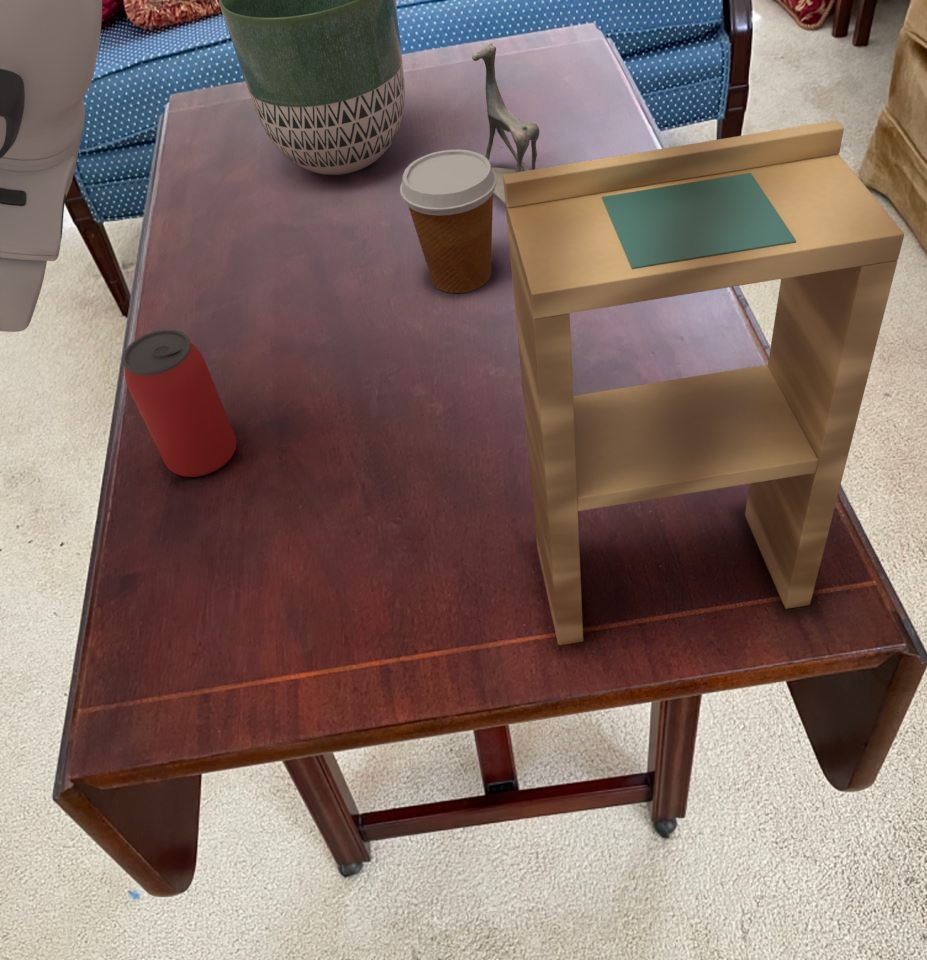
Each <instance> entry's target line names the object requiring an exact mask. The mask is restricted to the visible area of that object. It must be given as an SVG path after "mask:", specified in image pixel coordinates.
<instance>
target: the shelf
mask: <svg viewBox="0 0 927 960" xmlns="http://www.w3.org/2000/svg"><path fill="white" fill-rule="evenodd" d="M844 130H845V128H844V126H843V125H842V124H841V123H840V122H839V120H829V121H824V122H817V123H812V124H805V125H799V126H793V127H787V128H780V129H774V130H768V131H762V132H756V133H750V134H743V135H738V136H732V137H726V138H719V139H714V140H713V139H712V140H707V141H701V142H695V143H689V144H682V145H677V146H670V147H664V148H658V149H652V150H646V151H639V152H633V153H628V154H622V155H615V156H609V157H602V158H597V159H590V160H584V161H579V162H573V163H565V164H560V165H555V166H548V167H541V168H535V170H531V169H529V171H523V170H522V171H523V172H517V173H511V174H504V175H503V183H504V194H505V205H506V206H505V205H504V206H505V214H506V224H507V225H506V226H507V227H506V228H507V236H508V237H507V238H508V246H509V247H508V249H509V258H510V259H509V260H510V269H511V279H512V281H511V282H512V291H513V300H514V301H513V302H514V312H515V323H516V333H517V334H516V335H517V345H518V355H519V357H518V358H519V366H520V367H519V368H520V376H521V388H522V398H523V409H524V421H525V431H526V441H527V452H528V462H529V474H530V486H531V496H532V506H533V507H532V508H533V517H534V527H535V540H536V549H537V554H538V559H539V563H540V568H541V573H542V578H543V582H544V586H545V591H546V595H547V596H546V597H547V600H548V604H549V610H550V614H551V618H552V624H553V628H554V632H555V636H556V642H557V645H558V646H564V645H571V644H577V643H583V642H584V625H583V602H582V601H583V600H582V579H581V578H582V577H581V576H582V575H581V574H582V573H581V554H580V553H581V552H580V530H579V529H580V527H579V512H582V511H588V510H593V509H594V510H595V509H599V508H606V507H614V506H619V505H625V504H631V503H632V504H633V503H637V502H644V501H650V500H656V499H664V498H668V497H669V498H670V497H675V496H681V495H688V494H693V493H699V492H707V491H712V490H718V489H724V488H731V487H737V486H742V485H749V487H748V493H747V500H746V505H745V512H744V517H745V519H746V521H747V524H748V526H749V528H750V530H751V533H752V535H753V538H754V540H755V542H756V545H757V547H758V549H759V551H760V554H761V556H762V558H763V561H764V563H765V565H766V568H767V570H768V573H769V575H770V577H771V579H772V582H773V584H774V586H775V588H776V590H777V593H778V595H779V598H780V601H781V602H782V604H783V607H784V609H785V610H788V609H794V608H800V607H805V606H806V607H807V606H810V605H811V603H812V598H813V594H814V591H815V587H816V582H817V578H818V575H819V570H820V568H821V564H822V559H823V555H824V552H825V547H826V544H827V541H828V536H829V533H830V528H831V524H832V520H833V516H834V513H835V508H836V505H837V500H838V497H839V492H840V488H841V484H842V480H843V477H844V473H845V469H846V465H847V461H848V458H849V454H850V449H851V446H852V443H853V439H854V434H855V430H856V425H857V421H858V418H859V414H860V410H861V406H862V403H863V398H864V394H865V391H866V386H867V383H868V379H869V375H870V372H871V366H872V363H873V359H874V356H875V351H876V347H877V342H878V340H879V337H880V336H879V335H880V332H881V328H882V323H883V321H884V316H885V311H886V308H887V305H888V300H889V297H890V293H891V289H892V286H893V285H892V284H893V280H894V277H895V273H896V270H897V265H898V260H899V258H900V253H901V251H902V250H901V249H902V246H903V241H904V238H905V232H904V231H903V230H902V229H901V228H900V226H899V225H898V224H897V222H895V220H894V219H893V217H891V215H890V214H889V213H888V212H887V211H886V210H885V208H884V207H883V206H882V204H881V203H880V202H879V201H878V199H877V198H876V197H875V196H874V194H872V192H871V191H870V190H869V189H868V187H866V185H865V183H863V181H862V180H861V179H860V178H859V176H857V174H856V173H855V172H854V171H853V169H852V168H851V167H850V166H849V164H848V163H847V162H846V161H845V160H844V159H843V157H842V156H841V155H840V151H841V147H842V141H843V135H844ZM776 280H780V283H779V288H778V289H779V290H778V296H777V303H776V310H775V316H774V322H773V329H772V336H771V342H770V348H769V349H770V350H769V355H768V362H767V364H761V365H756V366H755V365H754V366H749V367H744V368H738V369H730V370H724V371H718V372H712V373H707V374H701V375H700V374H699V375H695V376H687V377H682V378H675V379H669V380H663V381H658V382H657V381H656V382H650V383H645V384H639V385H633V386H627V387H620V388H614V389H608V390H601V391H596V392H595V391H594V392H590V393H589V392H588V393H583V394H582V393H581V394H577V395H576V394H575V395H574V385H573V384H574V383H573V362H572V361H573V360H572V359H573V358H572V336H571V335H572V334H571V314H575V313H580V312H585V311H586V312H587V311H592V310H599V309H604V308H610V307H617V306H623V305H629V304H635V303H642V302H648V301H655V300H660V299H666V298H672V297H678V296H685V295H691V294H696V293H702V292H703V293H704V292H710V291H716V290H722V289H728V288H734V287H740V286H746V285H747V286H748V285H752V284H758V283H765V282H770V281H776Z"/></svg>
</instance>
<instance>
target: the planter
mask: <svg viewBox="0 0 927 960" xmlns="http://www.w3.org/2000/svg"><path fill="white" fill-rule="evenodd" d="M218 4H219V8H220V11H221V14H222V17H223V21H224V23H225V27H226V29H227V32H228V35H229V38H230V40H231V43H232V46H233V49H234V51H235V54H236V55H235V56H236V58H237V60H238V63H239V68H240V70H241V73H242V75H243V78H244V81H245V84H246V87H247V90H248V93H249V96H250V98H251V102H252V104H253V106H254V110H255V112H256V115H257V117H258V120H259V122H260V124H261V126H262V127H263V130H264V131H265V134H266V135H267V136H268V138H269V140H270V141H271V142H272V144H273V145H274V146H275V148H276V149H277V151H279V152H280V153H281V154H282V155H283V156H284V157H285V158H287V159H288V160H289V161H291V162H292V163H293V164H295V165H297V166H299V167H300V168H303V169H304V170H307V171H309V172H313V173H315V174H318V175H319V174H320V175H325V176H343V175H348V174H352V173H355V172H358V171H361V170H363V169H365V168H367V167H369V166H370V165H372V164H374V163H375V162H377V161H378V160H379V159H380V158H381V157H382V156H383V155H384V154H385V153H386V152H387V150H388V149H389V148H390V146H391V145H392V143H393V142H394V140H395V138H396V137H397V134H398V133H399V130H400V128H401V125H402V121H403V117H404V110H405V99H406V98H405V97H406V89H405V88H406V86H405V73H404V65H403V53H402V43H401V35H400V28H399V27H400V26H399V17H398V9H397V8H398V7H397V6H398V5H397V0H218Z"/></svg>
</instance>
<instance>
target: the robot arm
mask: <svg viewBox="0 0 927 960" xmlns="http://www.w3.org/2000/svg"><path fill="white" fill-rule="evenodd" d="M102 21H103V0H0V332H5V333H19V332H23V331H25V330H26V329H28V327H30V324H31V322H32V318H33V315H34V313H35V309H36V307H37V303H38V300H39V298H40V293H41V290H42V287H43V283H44V280H45V274H46V269H47V268H46V267H47V263H48V262H56V260H58V258H59V255H60V250H61V243H62V238H63V231H64V230H63V228H64V213H65V205H66V199H67V196H68V193H69V191H70V188H71V185H72V182H73V178H74V174H75V171H76V167H77V162H78V157H79V152H80V151H79V150H80V147H81V141H82V136H83V131H84V126H85V121H86V120H85V119H86V106H85V100H84V96H85V95H86V94H87V93H88V90H89V89H90V86H91V84H92V81H93V79H94V74H95V70H96V65H97V60H98V53H99V47H100V42H101V41H100V40H101V34H102V33H101V32H102Z"/></svg>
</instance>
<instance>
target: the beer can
mask: <svg viewBox="0 0 927 960" xmlns="http://www.w3.org/2000/svg"><path fill="white" fill-rule="evenodd" d="M126 347H127V348H126V349H125V350H124V352H123V353H122V354H123V355H122V358H121V361H122V365H123V367H124V379H125V380H124V381H125V384H126V387H127V389H128V391H129V393H130V395H131V397H132V401H134V404H135V406H136V408H137V410H138V412H139V414H140V416H141V418H142V420H143V422H144V424H145V427H146V428H147V430H148V432H149V435H150V437H151V438H152V440H153V442H154V444H155V447H156V448H157V450H158V453H159V455H160V456H161V459H162V460H163V463H164V465H165V467H166V468H167V469H168V470H170V471H171V472H172V473H173V474H175V475H178V476H179V477H180V476H181V477H185V478H198V477H204V476H206V475H210V474H212V473H214V472H216V471H218V470H220V469H221V468H222V467H224V466H226V465H227V463H228V462H229V461H230V460H231V459H232V457H233V455H234V454H235V452H236V449H237V437H236V434H235V432H234V429H233V427H232V425H231V422H230V420H229V417H228V414H227V412H226V409H225V407H224V405H223V402H222V399H221V397H220V395H219V392H218V390H217V387H216V384H215V383H214V380H213V377H212V374H211V372H210V370H209V367H208V365H207V362H206V359H205V358H204V356H203V354H202V352H201V351H200V350H199V349H198V347H197V346H196V345H194V343H192V342H191V340H190V337H189V336H188V335H187V334H185V333H184V332H182V331H179V330H176V329H160V330H159V329H158V330H154V331H151V332H148V333H145V334H143V335H141V336H140V337H138V338H136V339H134V340H133V341H132V342H131V343H129V345H128V346H126Z"/></svg>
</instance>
